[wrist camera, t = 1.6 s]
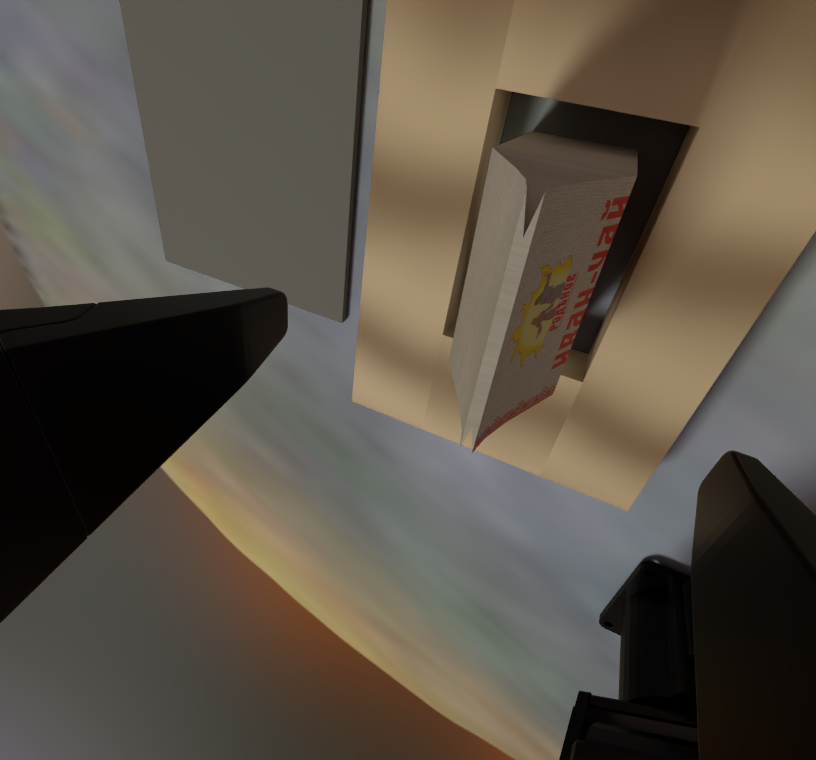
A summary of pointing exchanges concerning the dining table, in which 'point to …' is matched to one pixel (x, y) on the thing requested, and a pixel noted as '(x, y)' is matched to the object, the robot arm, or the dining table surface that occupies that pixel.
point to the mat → (253, 137)
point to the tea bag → (533, 270)
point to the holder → (662, 236)
